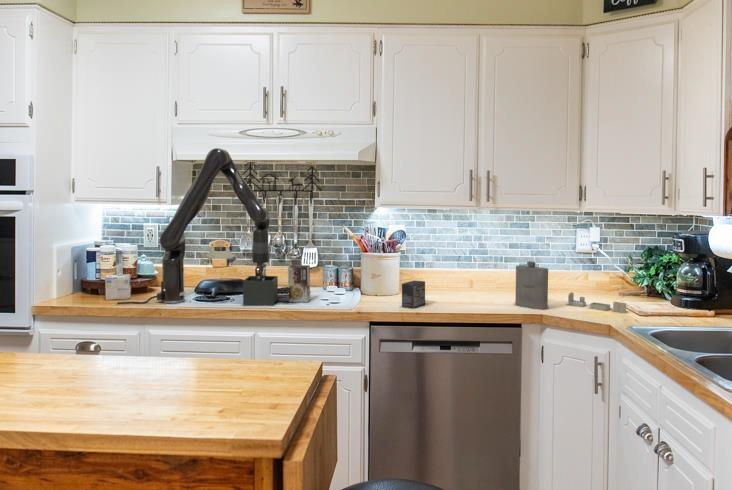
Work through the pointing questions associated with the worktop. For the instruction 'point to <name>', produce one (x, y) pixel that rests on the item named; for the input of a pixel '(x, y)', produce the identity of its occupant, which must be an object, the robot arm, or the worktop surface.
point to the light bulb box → (118, 286)
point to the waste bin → (260, 291)
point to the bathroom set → (597, 304)
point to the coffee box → (299, 283)
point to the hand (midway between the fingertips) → (260, 288)
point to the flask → (531, 286)
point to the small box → (413, 294)
